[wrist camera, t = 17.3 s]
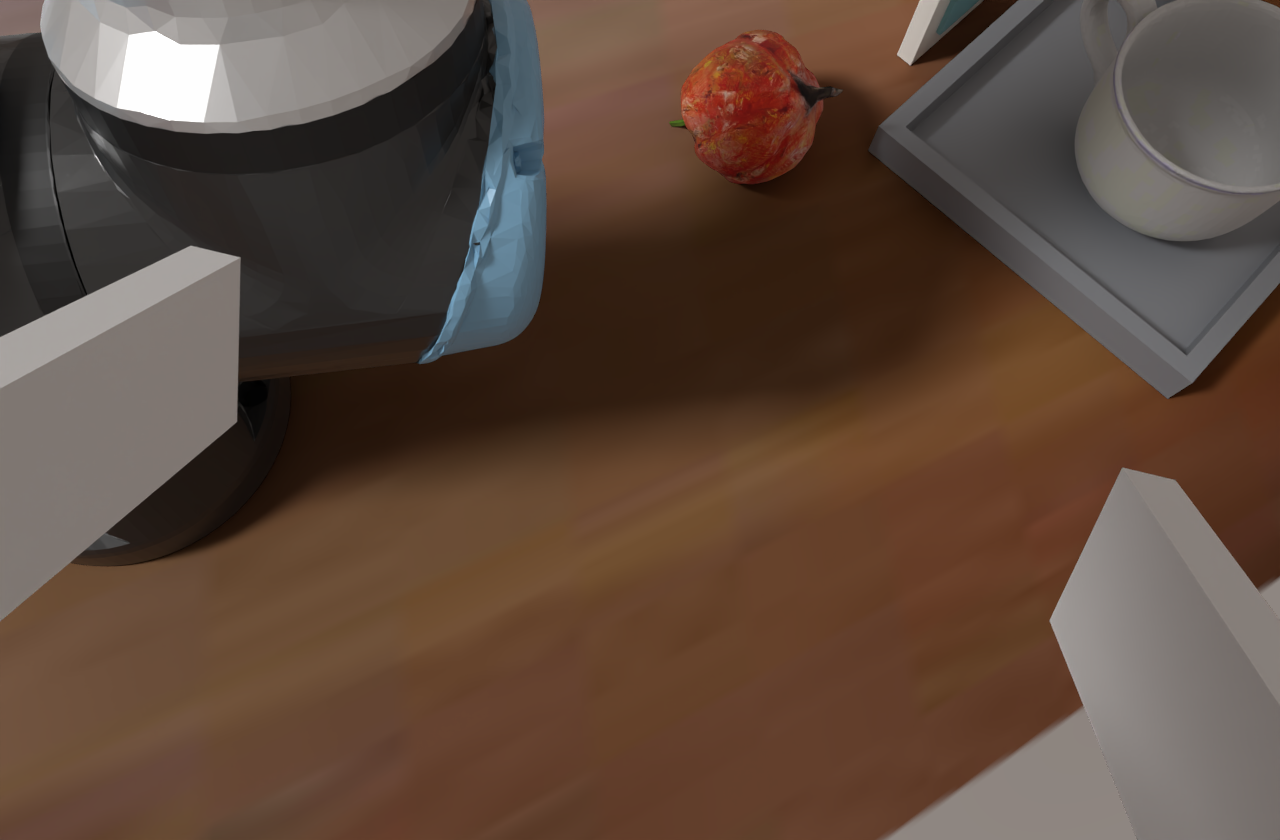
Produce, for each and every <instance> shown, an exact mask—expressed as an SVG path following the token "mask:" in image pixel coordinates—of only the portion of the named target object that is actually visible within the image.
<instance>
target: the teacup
mask: <svg viewBox="0 0 1280 840" xmlns="http://www.w3.org/2000/svg"><path fill="white" fill-rule="evenodd" d="M1117 1H1118V2H1119V3H1120V4H1121V6H1122V7H1123V9H1124V11H1125V13H1126V16H1127V23H1128V24H1127V33H1126V36H1125V39H1124V42H1123V44H1122V45H1121V47H1120V49H1119V51H1118V52H1117V49H1116V47H1115V44H1114V42H1113V39H1112V36H1111V33H1110V28H1109V24H1108V3H1109V0H1084V1H1083V3H1082V7H1081V13H1080V28H1081V35H1082V40H1083V43H1084V46H1085V50H1086V52H1087V55H1088V58H1089V60H1090V63H1091V65H1092V68H1093V70H1094V85H1095V87H1094V89H1093V91H1092V92H1091V94H1090V96H1089V97H1088V99H1087V101H1086V103H1085V105H1084V107H1083V109H1082V112H1081V114H1080V117H1079V120H1078V123H1077V127H1076V134H1075V157H1076V163H1077V167H1078V170H1079V173H1080V176H1081V178H1082V181H1083V183H1084V184H1085V186H1086V188H1087V190H1088V192H1089V193H1090V195H1091V196H1092V198H1093V199H1094V200H1095V201H1096V203H1097V204H1098V205H1099V206H1100V207H1101V208H1102V209H1103V210H1104V211H1105V212H1107V213H1108V214H1109V215H1110V216H1111V217H1112V218H1114V219H1115V220H1117V221H1118V222H1120V223H1121V224H1123V225H1124V226H1126V227H1128V228H1130V229H1132V230H1134V231H1137V232H1139V233H1141V234H1144V235H1147V236H1150V237H1153V238H1158V239H1163V240H1171V241H1198V240H1204V239H1209V238H1214V237H1217V236H1220V235H1223V234H1226V233H1229V232H1231V231H1233V230H1235V229H1237V228H1239V227H1241V226H1243V225H1245V224H1246V223H1248V222H1250V221H1252V220H1253V219H1255V218H1256V217H1257V216H1259V215H1260V214H1262V213H1263V212H1265V211H1266V210H1268V209H1269V208H1270V207H1272V206H1273V205H1274V204H1276V203H1277V202H1278V201H1280V8H1279V7H1277V6H1274V5H1272V4H1270V3H1267V2H1264V1H1261V0H1176V1H1173V2H1170V3H1167V4H1165V5H1163V6H1161V7H1159V8H1157V5H1156V2H1155V0H1117Z"/></svg>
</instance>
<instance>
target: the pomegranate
mask: <svg viewBox="0 0 1280 840" xmlns="http://www.w3.org/2000/svg"><path fill="white" fill-rule="evenodd" d="M842 91H843V90H841V89H836V88H833V87H830V86H829V87H822V88H820V87H819V84H818V82H817V80H816V77H815V76H814V75H813V73H812V72H810V71H809V70H808V69H807V68H805V66H804V63H803V61H802V59H801V56H800V54H799V53H798V51H797V50H796V48H795V47H794V46H792V45H791V44H790V43H788V42H787V41H785V40H784V38H783V36H781V35H779V34H778V33H776V32H772V31H767V30H754V31H749V32H745V33H742V34H741V35H739V36H738V37H737V38H736V39H735V40H733V41H730V42H728V43H726V44H725V45H723V46H721V47H718V48H716V49H715V50H714V51H712V52H711V53H710V54H708V55H707V56H706V57H705V58H704V59H703V60H702V61H701V62H700V63H699V64H698V65H697V66H696V67H695V68H694V69H693V70H692V72H691V73H690V75H689V76H688V78H687V80H686V81H685V83H684V85H683V86H682V90H681V112H682V117H683V120H677V121H671V122H669V123H670V125H671V126H684V125H686V127H687V129H688V130H689V132H690V133H691V134H692V135H693V138H694V141H695V147H694V148H695V153H696V155H697V156H698V158H699V159H700V160H701V161H702V162H704V163H705V164H706V165H708V166H709V167H710V168H712V169H713V170H716V171H717V172H719V173H720V174H721V175H722V176H724V177H725V178H726V179H727V180H728V181H730V182H732V183H737V184H757V183H762V182H767V181H769V180H772V179H774V178H776V177H778V176H781V175H783V174H785V173H786V172H788V171H790V170H791V169H793V168H795V167H796V165H797V164H798V163H799V162H800V161H801V160H802V158H803V156H804V155H805V154H806V152H807V151H808V150H809V149H810V147H811V145H812V143H813V139H814V134H815V127H816V123H817V122H818V120H819V118H820V116H821V114H822V111H823V99H825V98H828V97H834V96H837V95H839V94H840V93H841V92H842Z"/></svg>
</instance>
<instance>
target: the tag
mask: <svg viewBox="0 0 1280 840" xmlns="http://www.w3.org/2000/svg"><path fill="white" fill-rule="evenodd" d="M983 1H984V0H920V1H919V4H918V6H917V8H916V11H915V13H914V16H913V18H912V20H911V23H910V25H909V28H908V30H907V32H906V35H905V37H904V40H903V42H902V44H901V47H900V49H899V51H898V54H897V55H898V56H899V57H900V58H902V59H903V60H904V61H905V62H907V63H908V64H909V65H910V66H911V65H912V64H913V63H914V62H915V61H916V60H917V59H918V58H920V57H921V56H922V55H923V54H924V53H925V52H926V51H927V50H929V49H930V48H931V47H932V46H933V45H934V44H935V43H936V42H938V41H939V40H940V39H941V38H942V37H943V36H944V35H945V34H947V33H948V32H949V31H950V30H951V29H952V28H953V27H954V26H956V25H957V24H958V23H959V22H960V21H961V20H962V19H963V18H965V17H966V16H967V15H968V14H969V13H970V12H971V11H972V10H974V9H975V8H976V7H977V6H978V5H979V4H980V3H981V2H983Z"/></svg>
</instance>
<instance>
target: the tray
mask: <svg viewBox="0 0 1280 840" xmlns="http://www.w3.org/2000/svg"><path fill="white" fill-rule="evenodd" d="M1083 1H1084V0H1018V1H1017V2H1016V3H1015V4H1014V5H1012V6H1011V7H1010V8H1009V9H1008V10H1007V11H1006V12H1005V13H1004V14H1002V15H1001V16H1000V17H999V18H998V19H997V20H996V21H995V22H994V23H992V24H991V25H990V26H989V27H988V28H987V29H986V30H985V31H984V32H982V33H981V34H980V35H979V36H978V37H977V38H976V39H975V40H974V41H973V42H971V43H970V44H969V45H968V46H967V47H966V48H965V49H964V50H963V51H961V52H960V53H959V54H958V55H957V56H956V57H955V58H954V59H953V60H951V61H950V62H949V63H948V64H947V65H946V66H945V67H944V68H943V69H941V70H940V71H939V72H938V73H937V74H936V75H935V76H934V77H933V78H931V79H930V80H929V81H928V82H927V83H926V84H925V85H924V86H923V87H922V88H920V89H919V90H918V91H917V92H916V93H915V94H914V95H913V96H912V97H910V98H909V99H908V100H907V101H906V102H905V103H904V104H903V105H902V106H900V107H899V108H898V109H897V110H896V111H895V112H894V113H893V114H892V115H890V116H889V117H888V118H887V119H886V120H885V121H884V122H883V123H882V124H880V125H879V126H878V129H877V131H876V133H875V136H874V138H873V140H872V143H871V145H870V147H869V149H868V151H869V152H870V153H871V154H873V155H874V156H875V157H876V158H878V159H879V160H880V161H881V162H882V163H884V164H885V165H886V166H887V167H888V168H890V169H891V170H892V171H893V172H894V173H896V174H897V175H898V176H899V177H900V178H902V179H903V180H904V181H905V182H906V183H908V184H909V185H910V186H911V187H913V188H914V189H915V190H916V191H917V192H919V193H920V194H921V195H922V196H923V197H925V198H926V199H927V200H928V201H929V202H931V203H932V204H933V205H934V206H935V207H937V208H938V209H939V210H940V211H941V212H943V213H944V214H945V215H946V216H948V217H949V218H950V219H951V220H952V221H954V222H955V223H956V224H957V225H958V226H960V227H961V228H962V229H963V230H964V231H966V232H967V233H968V234H969V235H970V236H972V237H973V238H974V239H975V240H976V241H978V242H979V243H980V244H981V245H983V246H984V247H985V248H986V249H987V250H989V251H990V252H991V253H992V254H993V255H995V256H996V257H997V258H998V259H999V260H1001V261H1002V262H1003V263H1004V264H1005V265H1007V266H1008V267H1009V268H1010V269H1012V270H1013V271H1014V272H1015V273H1016V274H1018V275H1019V276H1020V277H1021V278H1022V279H1024V280H1025V281H1026V282H1027V283H1028V284H1030V285H1031V286H1032V287H1033V288H1034V289H1036V290H1037V291H1038V292H1039V293H1040V294H1042V295H1043V296H1044V297H1045V298H1047V299H1048V300H1049V301H1050V302H1051V303H1053V304H1054V305H1055V306H1056V307H1057V308H1059V309H1060V310H1061V311H1062V312H1063V313H1065V314H1066V315H1067V316H1068V317H1069V318H1071V319H1072V320H1073V321H1074V322H1075V323H1077V324H1078V325H1079V326H1080V327H1082V328H1083V329H1084V330H1085V331H1086V332H1088V333H1089V334H1090V335H1091V336H1092V337H1094V338H1095V339H1096V340H1097V341H1098V342H1100V343H1101V344H1102V345H1103V346H1104V347H1106V348H1107V349H1108V350H1109V351H1110V352H1112V353H1113V354H1114V355H1115V356H1117V357H1118V358H1119V359H1120V360H1121V361H1123V362H1124V363H1125V364H1126V365H1127V366H1129V367H1130V368H1131V369H1132V370H1133V371H1135V372H1136V373H1137V374H1138V375H1139V376H1141V377H1142V378H1143V379H1144V380H1145V381H1147V382H1148V383H1149V384H1150V385H1152V386H1153V387H1154V388H1155V389H1156V390H1158V391H1159V392H1160V393H1161V394H1162V395H1164V396H1165V397H1166V398H1167V399H1168V398H1170V397H1171V396H1173V395H1174V394H1176V393H1177V392H1179V391H1181V390H1182V389H1184V388H1185V387H1187V386H1188V385H1190V384H1192V383H1193V382H1194V380H1195V379H1196V378H1197V377H1198V376H1199V375H1200V374H1201V372H1202V371H1203V370H1204V369H1205V368H1206V367H1207V366H1208V364H1209V363H1210V362H1211V361H1212V360H1213V359H1214V358H1215V356H1216V355H1217V354H1218V353H1219V352H1220V351H1221V350H1222V348H1223V347H1224V346H1225V345H1226V344H1227V343H1228V342H1229V340H1230V339H1231V338H1232V337H1233V336H1234V335H1235V334H1236V332H1237V331H1238V330H1239V329H1240V328H1241V327H1242V325H1243V324H1244V323H1245V322H1246V321H1247V320H1248V319H1249V317H1250V316H1251V315H1252V314H1253V313H1254V312H1255V311H1256V309H1257V308H1258V307H1259V306H1260V305H1261V304H1262V303H1263V301H1264V300H1265V299H1266V298H1267V297H1268V296H1269V295H1270V293H1271V292H1272V291H1273V290H1274V289H1275V288H1276V287H1277V285H1278V284H1279V283H1280V201H1278V202H1277V203H1276V204H1274V205H1273V206H1272V207H1270V208H1269V209H1268V210H1266V211H1265V212H1263V213H1262V214H1260V215H1259V216H1257V217H1256V218H1255V219H1253V220H1252V221H1250V222H1248V223H1246V224H1245V225H1243V226H1241V227H1239V228H1237V229H1235V230H1233V231H1231V232H1229V233H1226V234H1223V235H1220V236H1217V237H1214V238H1209V239H1204V240H1198V241H1171V240H1163V239H1158V238H1153V237H1150V236H1147V235H1144V234H1141V233H1139V232H1137V231H1134V230H1132V229H1130V228H1128V227H1126V226H1124V225H1123V224H1121V223H1120V222H1118V221H1117V220H1115V219H1114V218H1112V217H1111V216H1110V215H1109V214H1108V213H1107V212H1105V211H1104V210H1103V209H1102V208H1101V207H1100V206H1099V205H1098V204H1097V203H1096V201H1095V200H1094V199H1093V198H1092V196H1091V195H1090V193H1089V192H1088V190H1087V188H1086V186H1085V184H1084V183H1083V181H1082V178H1081V176H1080V173H1079V170H1078V167H1077V163H1076V157H1075V134H1076V127H1077V123H1078V120H1079V117H1080V114H1081V112H1082V109H1083V107H1084V105H1085V103H1086V101H1087V99H1088V97H1089V96H1090V94H1091V92H1092V91H1093V89H1094V87H1095V85H1094V70H1093V68H1092V65H1091V63H1090V60H1089V58H1088V55H1087V52H1086V50H1085V46H1084V43H1083V40H1082V35H1081V28H1080V13H1081V7H1082V3H1083ZM1173 1H1176V0H1155V2H1156V5H1157V8H1159V7H1161V6H1163V5H1165V4H1167V3H1170V2H1173ZM1108 24H1109V28H1110V33H1111V36H1112V39H1113V42H1114V44H1115V47H1116V49H1117V52H1118V51H1119V49H1120V47H1121V45H1122V44H1123V42H1124V39H1125V36H1126V33H1127V24H1128V23H1127V16H1126V13H1125V11H1124V9H1123V7H1122V6H1121V4H1120V3H1119V2H1118V1H1117V0H1109V3H1108Z"/></svg>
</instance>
